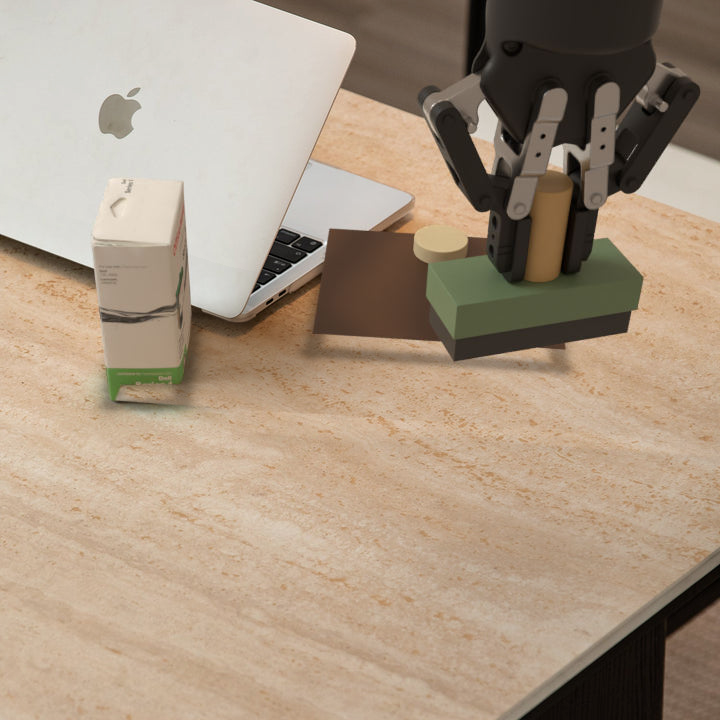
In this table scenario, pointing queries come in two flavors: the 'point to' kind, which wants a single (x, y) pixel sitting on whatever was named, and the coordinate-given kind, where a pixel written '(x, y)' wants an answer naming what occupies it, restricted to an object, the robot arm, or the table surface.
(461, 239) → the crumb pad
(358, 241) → the board
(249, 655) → the table surface
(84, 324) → the table surface
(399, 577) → the table surface
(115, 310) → the ink box
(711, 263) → the table surface
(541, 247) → the brush
